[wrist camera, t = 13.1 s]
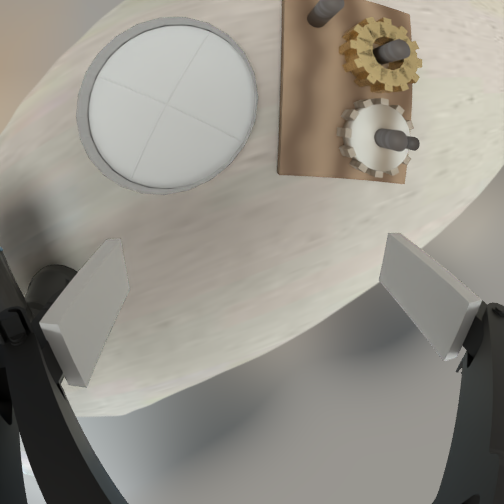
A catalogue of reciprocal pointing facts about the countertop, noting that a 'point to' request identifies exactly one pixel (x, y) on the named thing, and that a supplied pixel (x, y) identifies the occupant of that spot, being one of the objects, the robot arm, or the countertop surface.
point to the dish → (166, 105)
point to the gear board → (339, 97)
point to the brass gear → (365, 63)
